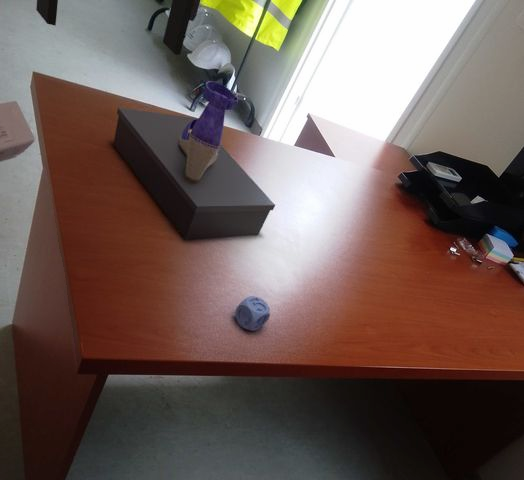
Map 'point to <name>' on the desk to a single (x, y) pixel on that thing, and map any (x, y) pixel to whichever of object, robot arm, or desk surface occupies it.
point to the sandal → (206, 131)
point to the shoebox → (183, 191)
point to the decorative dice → (252, 313)
